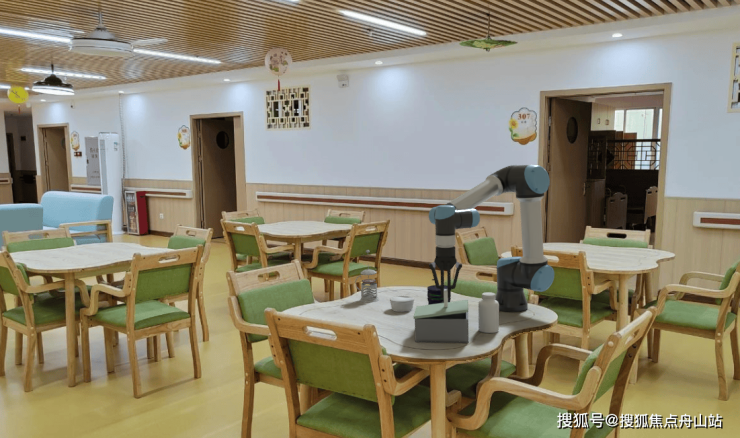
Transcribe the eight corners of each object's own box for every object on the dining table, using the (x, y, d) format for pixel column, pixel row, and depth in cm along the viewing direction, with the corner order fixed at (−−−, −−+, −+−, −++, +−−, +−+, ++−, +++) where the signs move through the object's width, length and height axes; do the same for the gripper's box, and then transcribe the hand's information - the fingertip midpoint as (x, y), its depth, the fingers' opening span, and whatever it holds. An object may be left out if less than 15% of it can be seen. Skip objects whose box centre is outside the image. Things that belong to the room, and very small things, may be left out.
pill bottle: (499, 333, 228) (498, 296, 227) (478, 333, 230) (477, 296, 228) (498, 327, 236) (498, 291, 234) (478, 327, 238) (478, 291, 236)
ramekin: (414, 306, 275) (414, 295, 274) (414, 312, 264) (413, 301, 263) (390, 306, 276) (390, 295, 275) (389, 312, 265) (389, 301, 264)
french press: (379, 301, 285) (377, 251, 282) (355, 302, 284) (353, 252, 282) (379, 297, 294) (377, 248, 292) (356, 297, 294) (354, 248, 292)
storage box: (468, 331, 232) (468, 309, 231) (468, 343, 219) (468, 319, 218) (418, 331, 236) (417, 309, 235) (415, 342, 222) (414, 319, 221)
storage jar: (456, 321, 247) (455, 279, 245) (441, 326, 240) (440, 283, 238) (437, 317, 254) (436, 276, 252) (423, 322, 247) (421, 280, 245)
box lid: (468, 302, 231) (467, 299, 231) (468, 312, 217) (468, 309, 217) (416, 308, 235) (416, 306, 235) (413, 318, 221) (413, 316, 221)
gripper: (462, 244, 226) (463, 304, 228) (429, 244, 228) (429, 303, 230) (462, 247, 218) (462, 309, 221) (427, 247, 220) (428, 308, 223)
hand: (445, 306), depth 226 cm, fingers closed
